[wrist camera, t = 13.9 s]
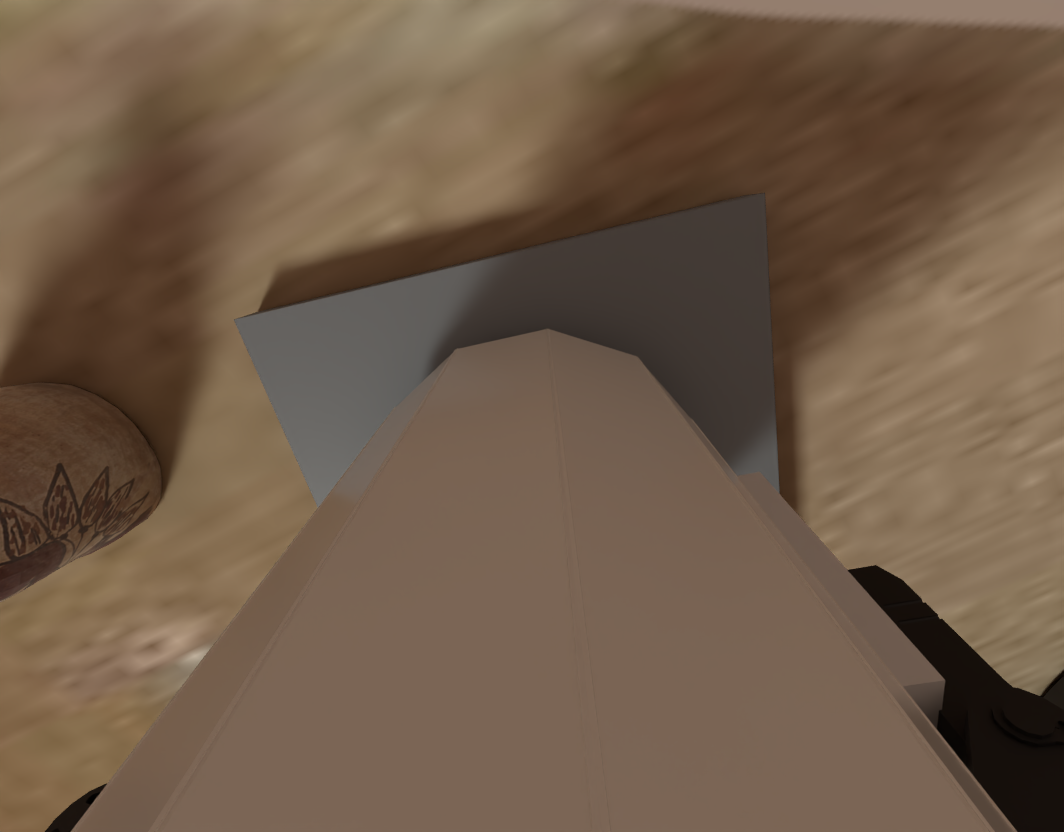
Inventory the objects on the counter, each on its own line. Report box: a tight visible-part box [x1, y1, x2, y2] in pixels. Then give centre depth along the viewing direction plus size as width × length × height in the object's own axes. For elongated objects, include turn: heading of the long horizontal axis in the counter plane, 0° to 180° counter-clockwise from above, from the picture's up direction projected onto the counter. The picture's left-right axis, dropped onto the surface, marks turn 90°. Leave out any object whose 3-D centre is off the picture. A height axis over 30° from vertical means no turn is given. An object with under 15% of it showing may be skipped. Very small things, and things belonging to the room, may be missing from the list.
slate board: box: [234, 193, 780, 507], centre depth 20 cm, size 18×16×2 cm
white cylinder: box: [71, 328, 1017, 832], centre depth 11 cm, size 11×11×14 cm
